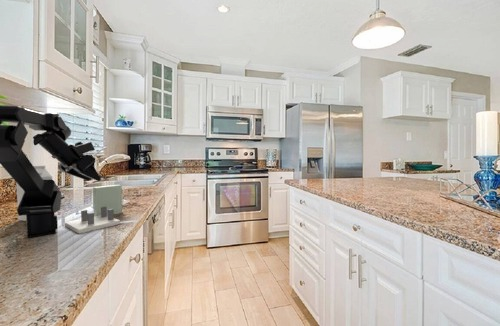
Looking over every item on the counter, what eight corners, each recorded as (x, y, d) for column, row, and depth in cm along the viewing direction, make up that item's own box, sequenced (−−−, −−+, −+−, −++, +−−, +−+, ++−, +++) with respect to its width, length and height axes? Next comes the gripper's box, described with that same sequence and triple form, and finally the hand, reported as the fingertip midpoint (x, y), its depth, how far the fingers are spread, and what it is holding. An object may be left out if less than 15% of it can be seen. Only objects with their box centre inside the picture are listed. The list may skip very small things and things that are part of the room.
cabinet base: (78, 233, 73) (78, 218, 72) (65, 225, 80) (64, 211, 80) (120, 223, 82) (119, 210, 82) (104, 217, 90) (104, 204, 89)
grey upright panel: (97, 217, 89) (96, 188, 89) (93, 216, 91) (92, 187, 91) (123, 212, 97) (122, 185, 96) (119, 211, 99) (118, 184, 98)
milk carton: (18, 220, 86) (15, 166, 85) (40, 215, 93) (38, 165, 91) (32, 222, 84) (29, 167, 83) (54, 216, 90) (51, 165, 89)
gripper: (89, 130, 81) (122, 164, 89) (69, 135, 92) (100, 165, 100) (59, 152, 74) (98, 187, 83) (41, 155, 85) (78, 185, 94)
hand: (94, 180), depth 90 cm, fingers open, 9 cm apart
